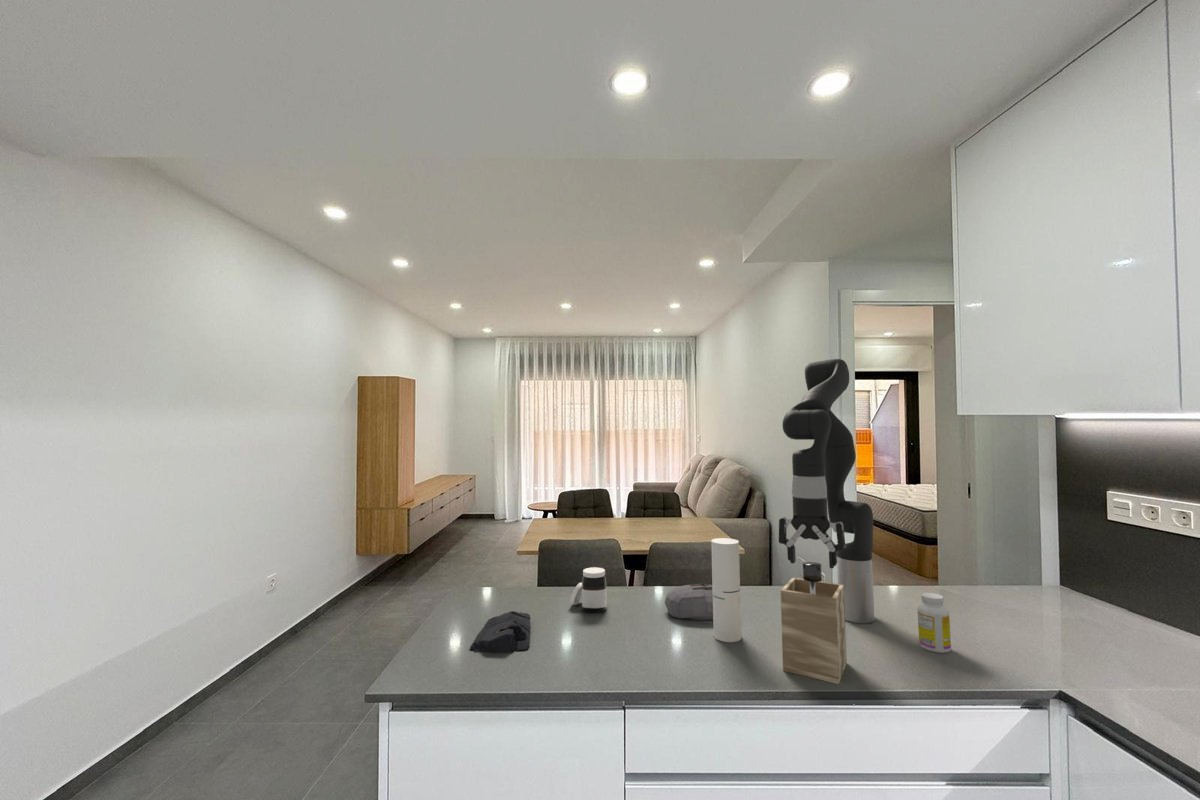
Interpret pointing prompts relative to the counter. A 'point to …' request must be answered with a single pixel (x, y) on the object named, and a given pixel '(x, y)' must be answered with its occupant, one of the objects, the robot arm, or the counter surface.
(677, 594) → the grey rounded bag
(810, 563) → the plunger
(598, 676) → the counter surface
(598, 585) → the spread jar
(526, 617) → the dark slate chunk
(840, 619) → the wooden utensil holder
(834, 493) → the robot arm
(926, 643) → the supplement bottle
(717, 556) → the cylindrical container
